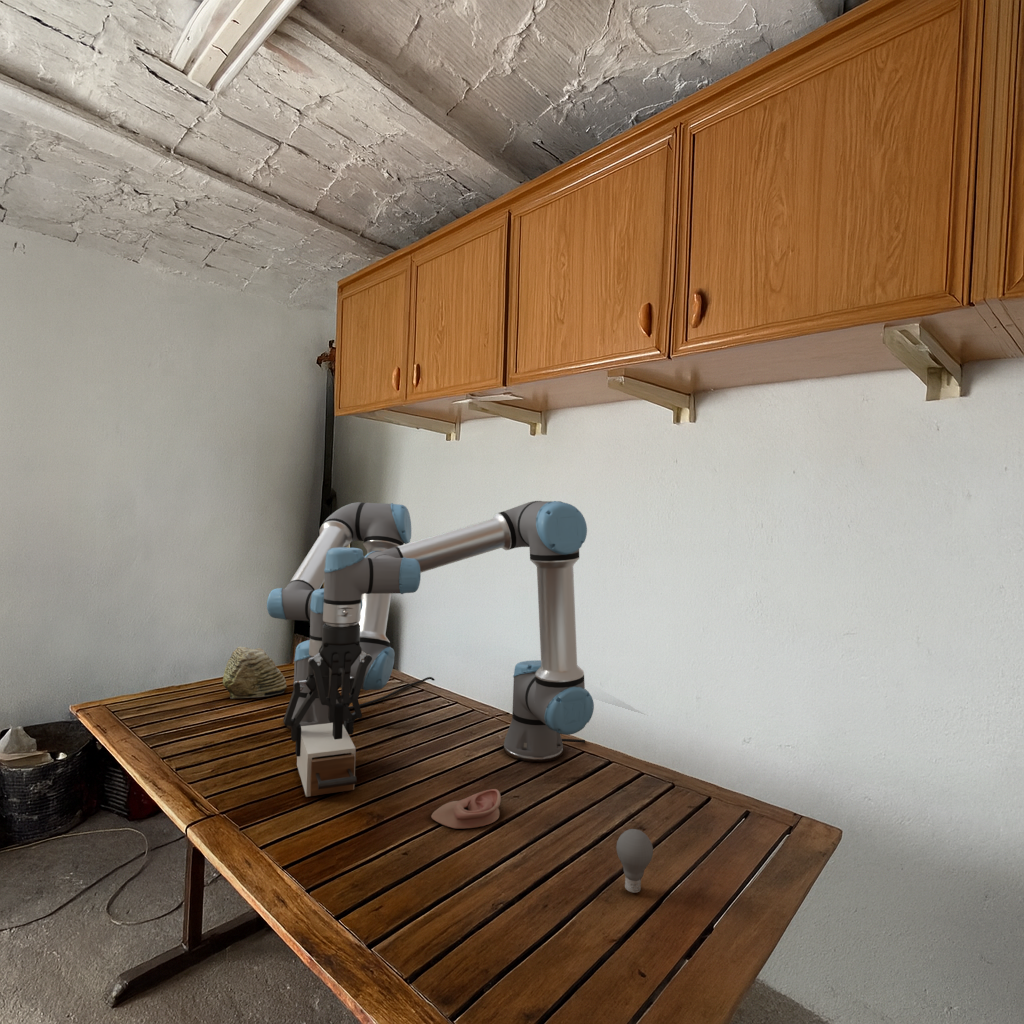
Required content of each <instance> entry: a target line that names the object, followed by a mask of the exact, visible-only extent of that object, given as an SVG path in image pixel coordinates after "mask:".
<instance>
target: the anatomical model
mask: <svg viewBox="0 0 1024 1024" xmlns="http://www.w3.org/2000/svg"><path fill="white" fill-rule="evenodd" d="M501 802H502V796H501V792H500V791H499V790H498V789H496V788H491V789H486V790H483V791H480V792H477V793H474V794H472V795H469V796H468V797H465V798H463V799H460V800H452V801H449V802H447V803H445V804H443V805H441V806H439V807H438V808H437V809H435V810H434V811H433V812H432V814H431V815H430V817H431V819H432V820H433V821H435V822H436V823H439V824H440V825H442V826H445V827H448V828H450V829H458V830H459V829H464V830H465V829H474V828H479V827H480V828H481V827H484V826H488V825H491V824H492V823H495V822H496V821H497V820H498V819H499V818H500V814H501V813H500V809H499V807H500V805H501Z"/></svg>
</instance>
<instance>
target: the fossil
mask: <svg viewBox="0 0 1024 1024" xmlns="http://www.w3.org/2000/svg"><path fill="white" fill-rule="evenodd" d="M222 676H223V677H222V685H223V687H224V688H225V690H226V691H228V693H229V698H230V699H250V698H264V697H271V696H275V695H281V694H284V693H285V691H286V689H287V687H288V686H287V680H286V678H285V676H284V674H283V673H282V672H281V669H279V668H278V667H277V665H276V663H275V662H274V660H273V659H272V658H271V657H270V656H269V655H268V654H267V653H266V652H265V650H264V649H263V648H260V647H258V648H251V647H247V646H246V647H245V646H238V647H237V648H236V649H235V650H233V651H232V653H231V656H230V657H229V659H228V660H227V663H226V666H225V668H224V671H223V675H222Z"/></svg>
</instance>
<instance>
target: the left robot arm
mask: <svg viewBox="0 0 1024 1024" xmlns="http://www.w3.org/2000/svg"><path fill="white" fill-rule="evenodd" d="M318 531H319V535H318V537H317V539H316V540H315V542H314V543H313V545H312V547H311V548H310V550H309V551H308V553H307V555H306V556H305V557H304V559H303V560H302V562H301V564H300V565H299V566H298V568H297V570H296V571H295V573H294V575H293V576H292V578H291V579H290V580H289V582H288V583H287V585H286V587H284V588H283V587H277V588H274V589H272V590H271V591H270V592H269V594H268V597H267V600H266V610H267V613H268V615H269V616H270V617H271V618H273V619H278V620H284V621H287V620H288V621H305V622H306V621H307V622H308V621H309V626H310V627H309V639H307V640H304V641H302V642H300V643H298V644H297V645H296V647H295V654H294V659H293V661H294V670H293V671H294V672H293V684H292V687H293V688H292V689H293V690H292V693H291V697H290V699H289V701H288V704H287V707H286V711H285V713H284V717H283V719H282V721H283V724H284V726H286V728H287V729H289V730H290V739H291V741H292V742H295V756H296V758H297V757H298V756H300V748H301V726H308V725H317V724H327V723H330V722H329V719H328V706H327V705H322V704H321V702H320V700H319V695H318V691H317V686H316V682H315V677H314V672H313V669H312V667H311V666H310V664H309V662H308V658H309V657H314V656H315V655H316V654H318V653H319V649H320V648H321V645H322V628H323V625H324V624H325V622H324V621H323V606H324V587H323V588H322V586H323V585H324V569H325V562H326V553H327V551H328V550H329V549H331V548H338V547H347V548H348V546H349V545H350V544H351V543H352V542H358V541H359V542H363V543H362V545H363V547H364V548H365V549H366V552H367V553H366V555H367V554H368V553H370V552H373V551H377V550H378V551H384V550H387V549H391V548H395V547H398V546H401V545H405V544H408V543H411V539H412V521H411V515H410V512H409V509H408V508H407V506H406V505H404V504H400V503H399V504H398V503H393V502H391V503H385V502H383V503H382V502H363V501H358V502H351V503H348V504H346V505H344V506H341V507H339V508H338V509H336V510H335V511H334V512H332V513H330V514H329V516H328V517H327V518H326V519H325V520H324V521H323V523H322V524H321V526H320V527H319V530H318ZM391 599H392V593H379V594H362V596H361V620H360V621H359V622H357V623H359V625H360V646H361V648H362V651H363V652H365V653H368V654H369V655H370V656H371V657H372V660H371V662H370V663H369V665H368V666H367V669H366V672H365V676H364V679H363V683H362V687H361V690H364V691H379V690H382V689H383V688H384V687H385V686H386V685H387V684H388V683H389V681H390V678H391V675H392V673H393V670H394V666H395V665H394V664H395V657H396V656H395V650H394V648H393V647H391V646H390V645H391V641H390V640H389V639H388V637H387V635H386V632H387V628H388V627H387V626H388V620H389V613H390V606H391ZM359 662H360V661H359V657H358V658H357V659H356V661H355V662H354V663H353V665H352V666H351V673H350V691H349V694H350V693H351V690H352V686H353V683H354V679H355V676H356V672H357V668H358V665H359ZM319 668H320V671H321V675H322V680H323V684H324V689H325V694H326V697H327V698H328V694H329V667H328V665H327V664H326V663H325V661H324V660H323V659H322V658H321V665H320V666H319ZM428 680H431V681H436V679H435V678H434V677H432V676H428V677H425V678H422V679H421V680H417V681H414V682H412V683H409V684H407V685H405V686H403V687H401V688H399V689H397V690H394V691H392V692H390V693H388V694H386V695H383V696H381V697H379V698H376V699H372V700H369V701H366V702H363V703H360V702H359V699H358V700H357V702H353V703H351V704H352V705H349V707H348V719H347V721H343V725H344V727H345V729H346V731H347V733H348V735H349V736H350V735H351V736H352V735H353V734H354V727H355V726H354V724H355V722H356V720H357V719H361V718H362V717H363V714H362V709H361V707H365V706H367V705H371V704H374V703H377V702H379V701H383V700H385V699H387V698H390V697H392V696H394V695H396V694H397V693H399V692H402V691H404V690H406V689H407V688H410V687H412V686H415V685H419V684H421V683H423V682H426V681H428ZM341 686H342V668H339V669H338V674H337V696H336V704H337V703H341V693H340V691H339V689H341ZM351 710H353V711H354V712H351ZM331 723H333V722H331Z"/></svg>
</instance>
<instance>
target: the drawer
mask: <svg viewBox="0 0 1024 1024" xmlns="http://www.w3.org/2000/svg"><path fill="white" fill-rule="evenodd" d="M354 761H355V762H356V756H354V754H352V755H348V753H345V754H337V755H329V756H322V757H314V758H312V760H311V775H310V796H309V797H315V795H316V796H322V795H328V793H329V794H335V793H341V791H342V792H348V791H354V790H353V786H354V787H355V785H357V776H356V775H355V776H354Z"/></svg>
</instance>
